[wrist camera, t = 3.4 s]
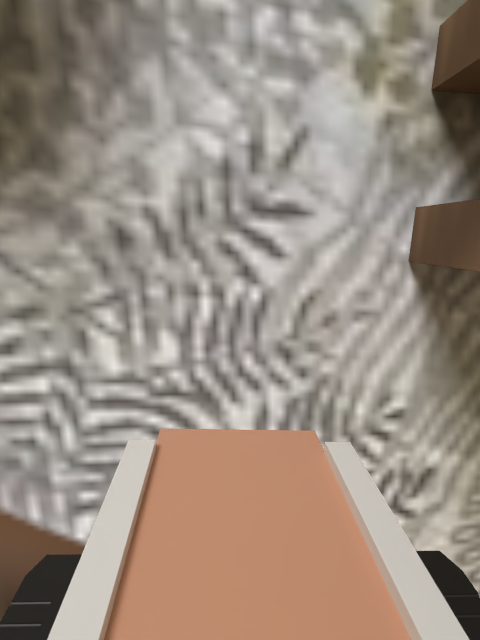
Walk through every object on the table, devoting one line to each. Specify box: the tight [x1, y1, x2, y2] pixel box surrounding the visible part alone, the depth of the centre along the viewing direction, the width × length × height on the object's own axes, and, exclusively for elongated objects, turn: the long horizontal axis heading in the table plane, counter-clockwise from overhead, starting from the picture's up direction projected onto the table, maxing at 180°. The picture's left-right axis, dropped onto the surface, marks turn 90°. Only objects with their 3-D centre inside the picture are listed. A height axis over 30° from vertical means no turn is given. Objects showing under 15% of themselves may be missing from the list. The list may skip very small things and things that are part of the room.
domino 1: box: [104, 429, 411, 640], centre depth 8 cm, size 2×5×10 cm, turn 88°
